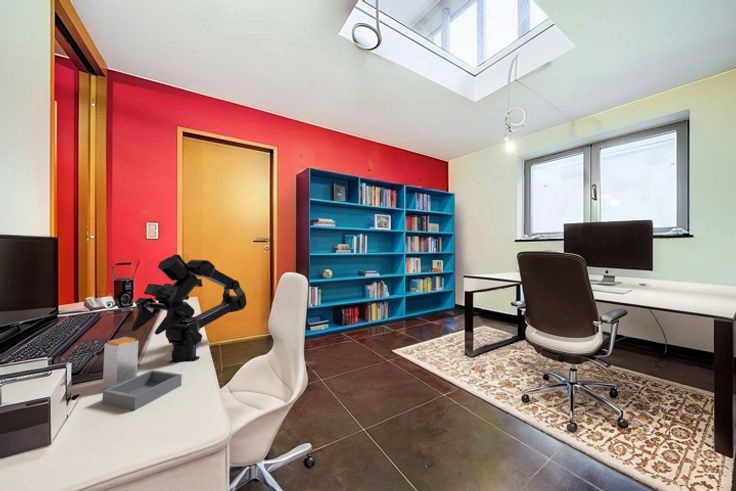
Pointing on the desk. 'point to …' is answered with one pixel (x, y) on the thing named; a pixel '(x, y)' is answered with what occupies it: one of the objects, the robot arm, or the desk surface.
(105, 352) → the block
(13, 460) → the desk surface
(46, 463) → the desk surface
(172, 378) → the case
